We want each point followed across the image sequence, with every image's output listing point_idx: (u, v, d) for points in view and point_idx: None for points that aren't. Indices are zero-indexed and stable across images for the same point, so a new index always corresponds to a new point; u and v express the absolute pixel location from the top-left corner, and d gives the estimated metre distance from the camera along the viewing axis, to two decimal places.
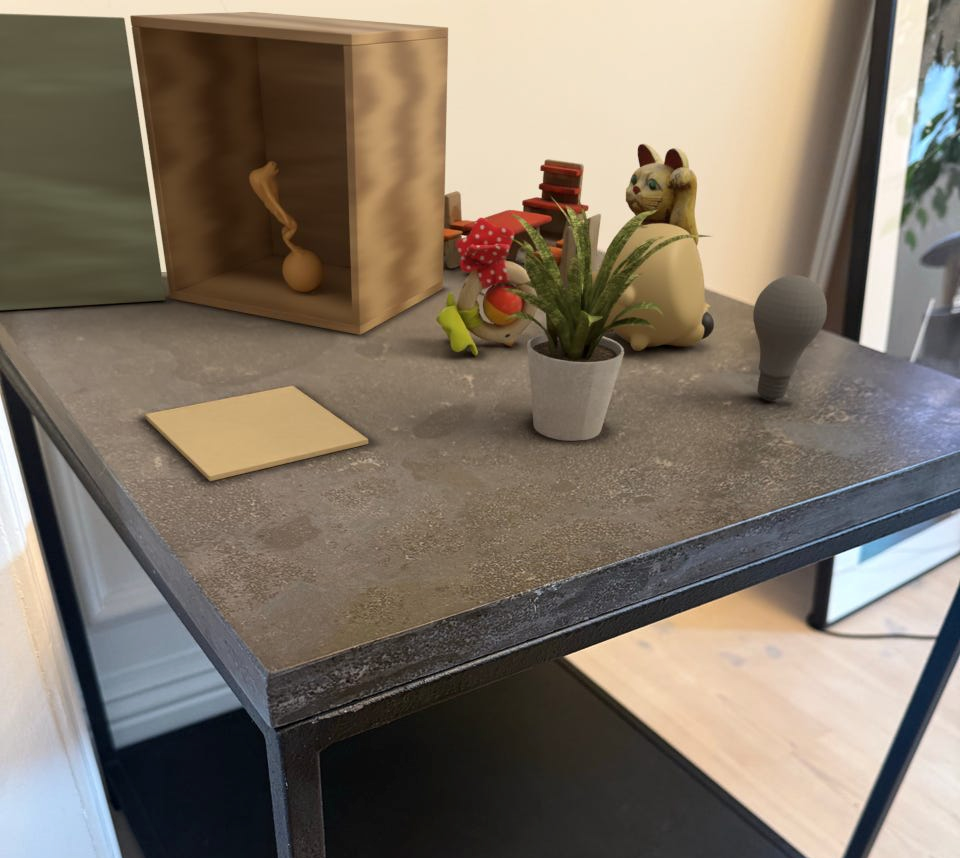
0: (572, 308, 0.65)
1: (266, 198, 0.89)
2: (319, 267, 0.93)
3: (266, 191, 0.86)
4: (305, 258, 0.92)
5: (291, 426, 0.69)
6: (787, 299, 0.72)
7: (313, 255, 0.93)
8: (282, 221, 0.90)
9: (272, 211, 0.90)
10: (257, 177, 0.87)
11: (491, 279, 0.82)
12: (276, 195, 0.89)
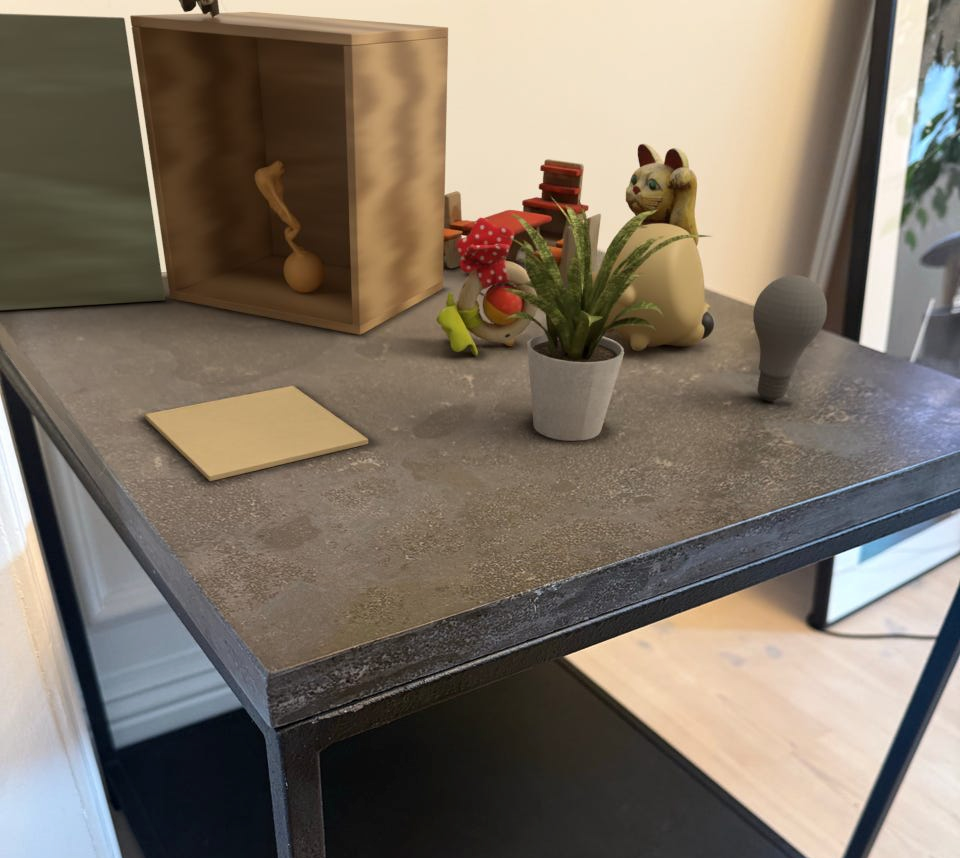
0: (572, 308, 0.65)
1: (271, 197, 0.89)
2: (320, 268, 0.93)
3: (271, 189, 0.87)
4: (306, 258, 0.92)
5: (291, 426, 0.69)
6: (787, 299, 0.72)
7: (315, 256, 0.93)
8: (286, 221, 0.90)
9: (276, 210, 0.90)
10: (262, 176, 0.87)
11: (491, 279, 0.82)
12: (281, 194, 0.89)
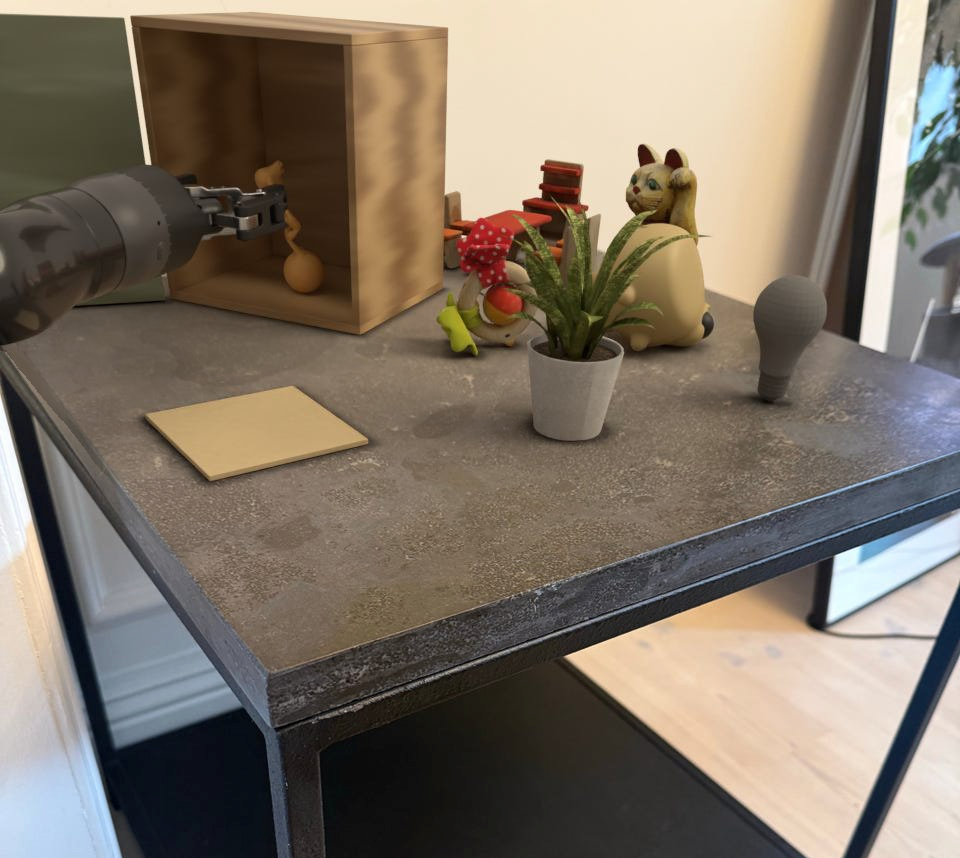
0: (572, 308, 0.65)
1: None
2: (320, 268, 0.93)
3: None
4: (306, 258, 0.92)
5: (291, 426, 0.69)
6: (787, 299, 0.72)
7: (315, 256, 0.93)
8: (286, 221, 0.90)
9: None
10: (262, 176, 0.87)
11: (491, 279, 0.82)
12: None
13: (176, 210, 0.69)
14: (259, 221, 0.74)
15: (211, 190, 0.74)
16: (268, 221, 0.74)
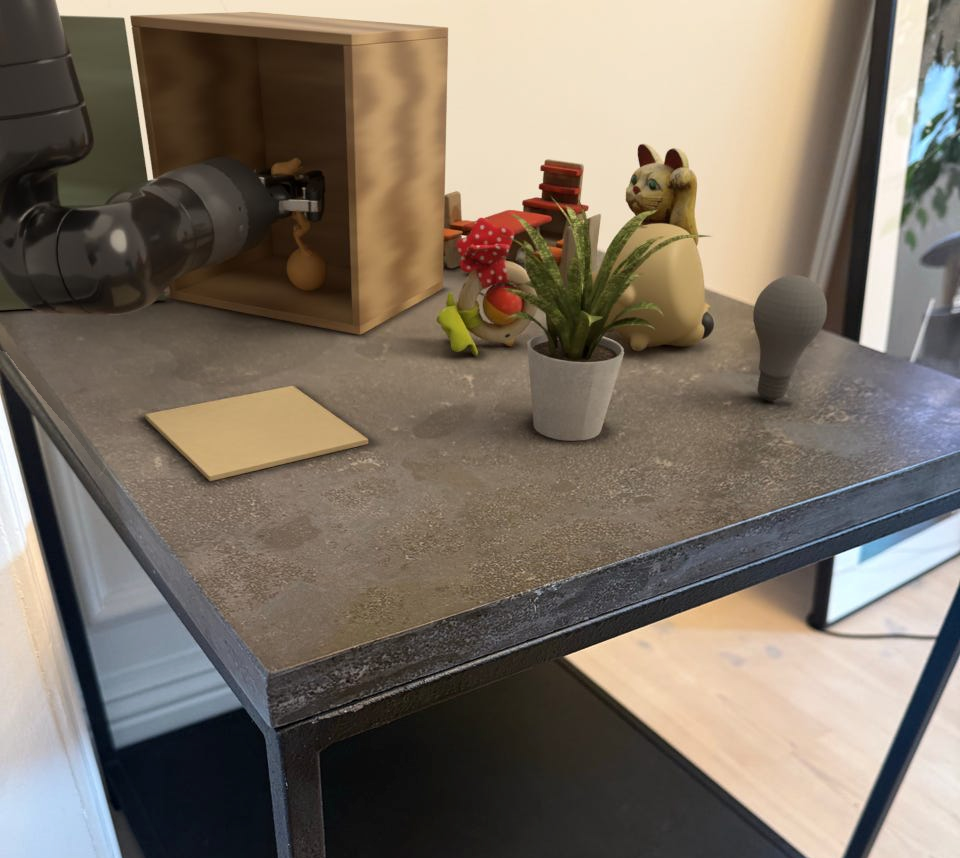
0: (572, 308, 0.65)
1: None
2: (324, 270, 0.93)
3: None
4: (311, 258, 0.92)
5: (291, 426, 0.69)
6: (787, 299, 0.72)
7: (320, 257, 0.93)
8: (296, 218, 0.90)
9: None
10: (279, 171, 0.87)
11: (491, 279, 0.82)
12: None
13: (253, 197, 0.78)
14: None
15: (277, 178, 0.83)
16: (322, 203, 0.85)
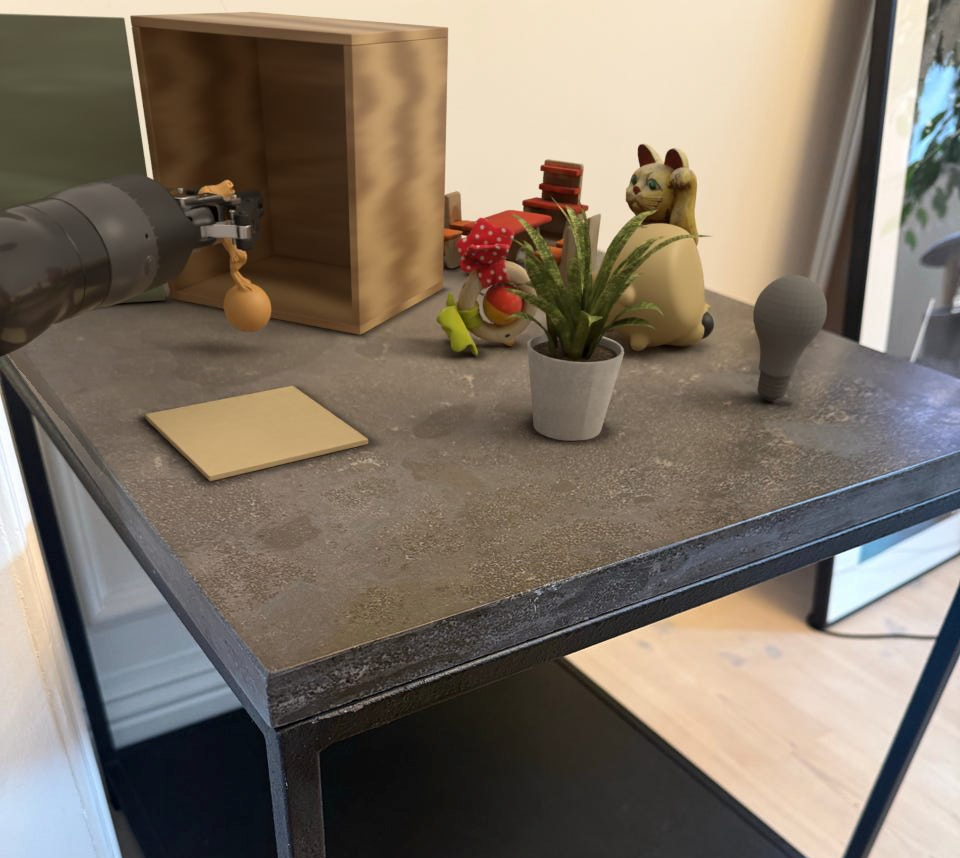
0: (572, 308, 0.65)
1: None
2: (266, 308, 0.80)
3: None
4: (250, 295, 0.79)
5: (291, 426, 0.69)
6: (787, 299, 0.72)
7: (261, 293, 0.80)
8: None
9: None
10: None
11: (491, 279, 0.82)
12: None
13: (165, 222, 0.65)
14: None
15: (200, 199, 0.70)
16: (256, 228, 0.72)
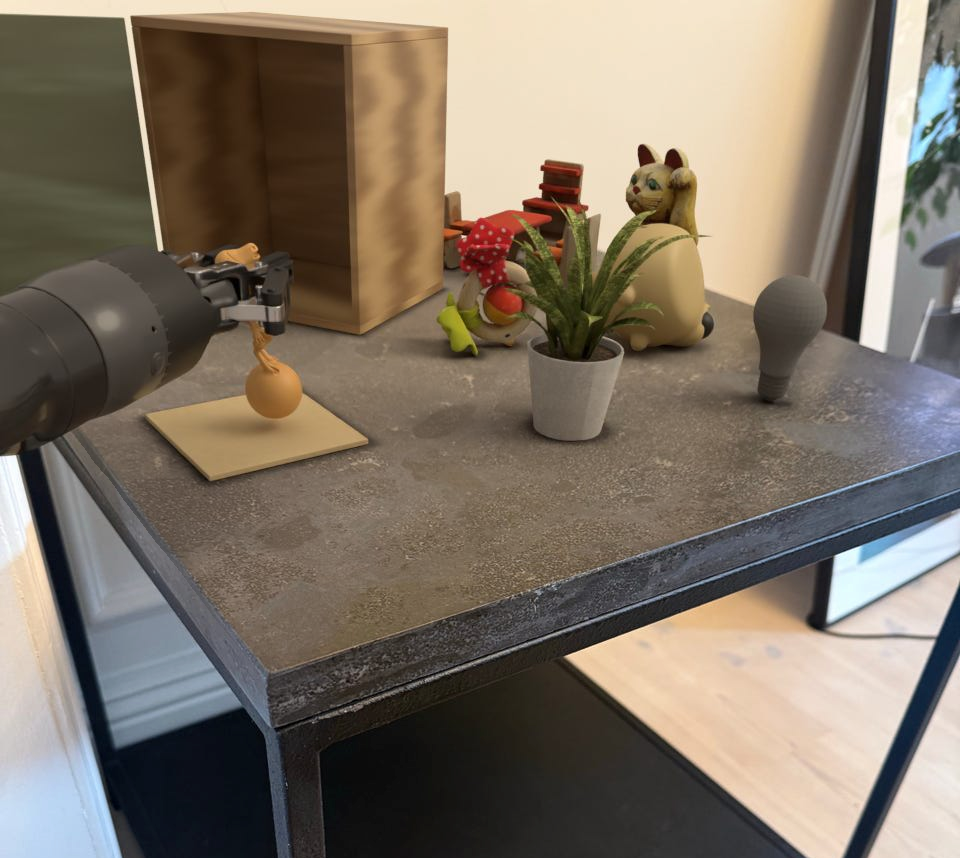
0: (572, 308, 0.65)
1: None
2: (296, 392, 0.67)
3: None
4: (277, 377, 0.65)
5: (291, 426, 0.69)
6: (787, 299, 0.72)
7: (291, 375, 0.66)
8: None
9: None
10: None
11: (491, 279, 0.82)
12: (250, 290, 0.62)
13: (177, 308, 0.51)
14: None
15: (219, 271, 0.57)
16: (287, 305, 0.58)
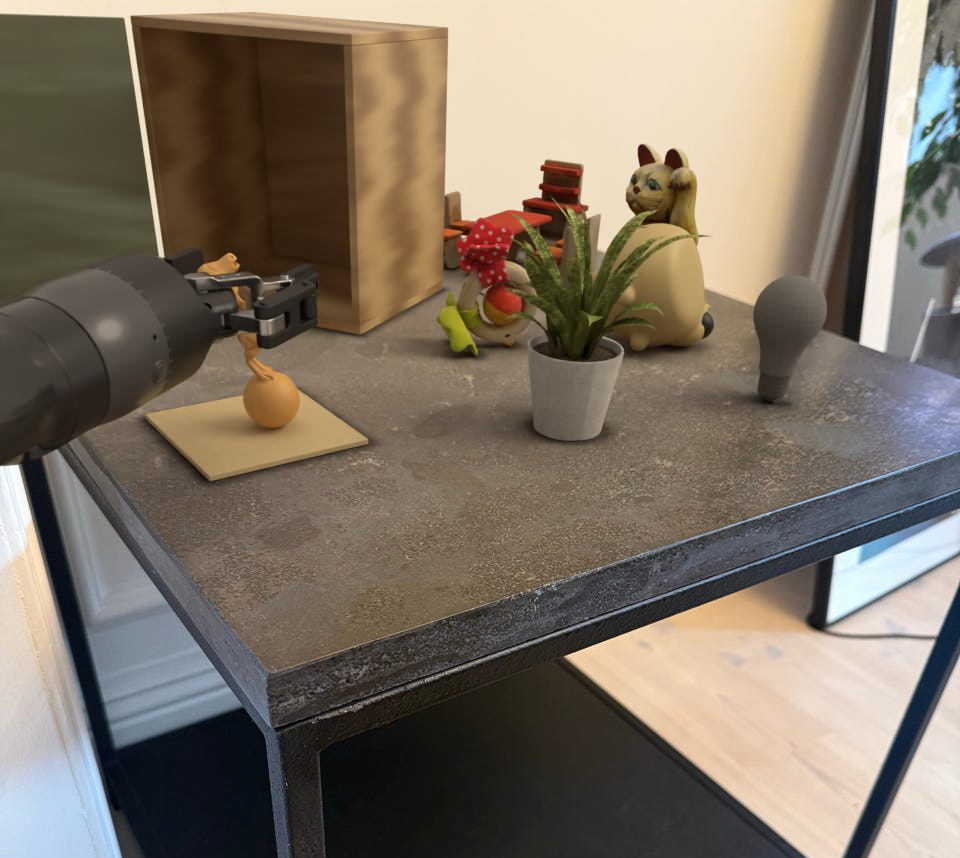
0: (572, 308, 0.65)
1: None
2: (292, 397, 0.67)
3: None
4: (272, 385, 0.66)
5: (291, 426, 0.69)
6: (787, 299, 0.72)
7: (285, 381, 0.67)
8: None
9: None
10: None
11: (491, 279, 0.82)
12: None
13: (178, 316, 0.52)
14: (286, 321, 0.57)
15: (223, 280, 0.56)
16: (297, 320, 0.57)
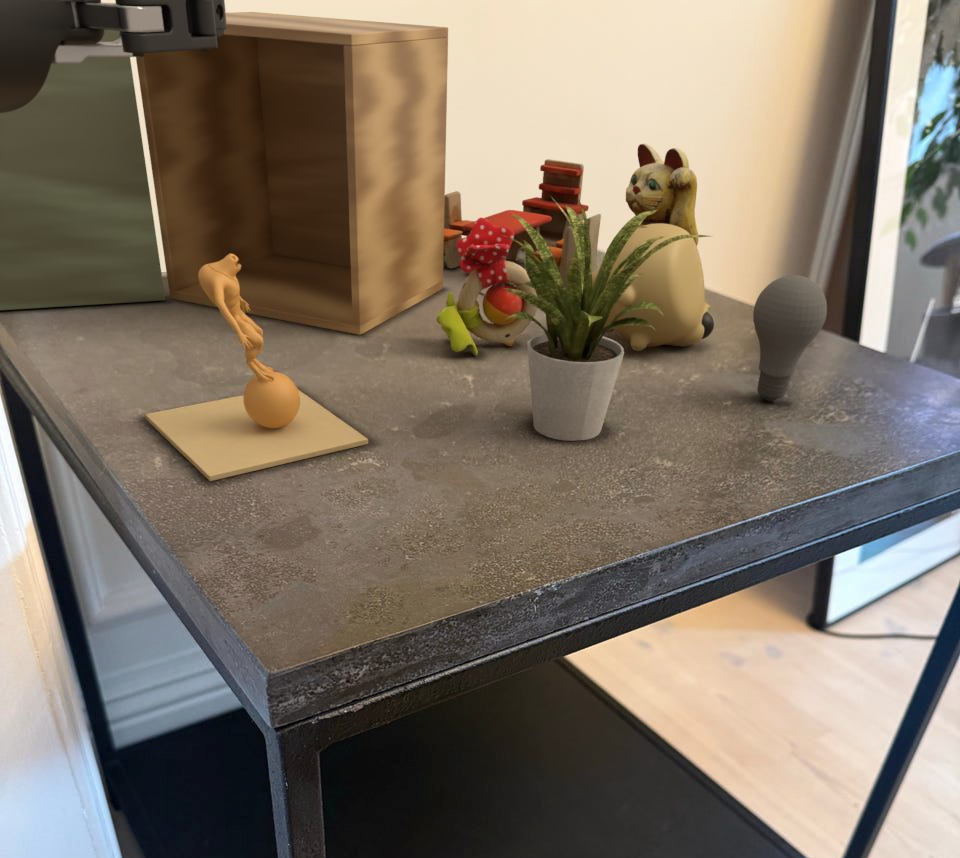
0: (572, 308, 0.65)
1: None
2: (293, 398, 0.67)
3: (216, 297, 0.61)
4: (272, 385, 0.66)
5: (291, 426, 0.69)
6: (787, 299, 0.72)
7: (286, 382, 0.67)
8: None
9: None
10: (207, 276, 0.61)
11: (491, 279, 0.82)
12: (235, 300, 0.63)
13: None
14: (166, 24, 0.41)
15: None
16: (184, 26, 0.42)
